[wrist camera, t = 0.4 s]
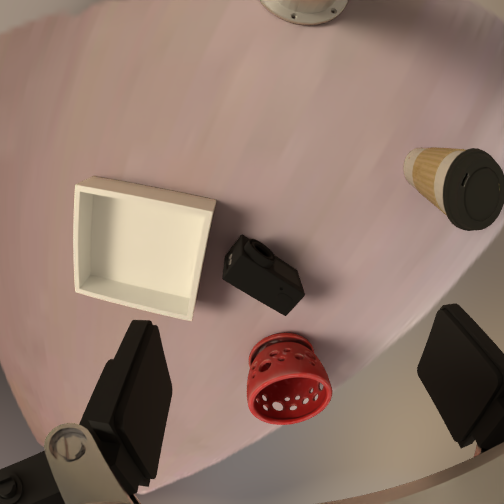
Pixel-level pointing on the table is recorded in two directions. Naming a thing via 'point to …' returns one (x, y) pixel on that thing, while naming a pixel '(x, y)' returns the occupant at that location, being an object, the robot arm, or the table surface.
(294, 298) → the digital camera
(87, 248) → the box
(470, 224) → the coffee cup
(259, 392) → the plant pot
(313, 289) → the table surface
